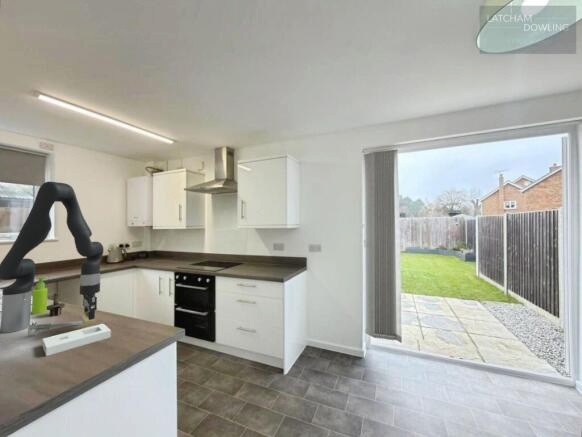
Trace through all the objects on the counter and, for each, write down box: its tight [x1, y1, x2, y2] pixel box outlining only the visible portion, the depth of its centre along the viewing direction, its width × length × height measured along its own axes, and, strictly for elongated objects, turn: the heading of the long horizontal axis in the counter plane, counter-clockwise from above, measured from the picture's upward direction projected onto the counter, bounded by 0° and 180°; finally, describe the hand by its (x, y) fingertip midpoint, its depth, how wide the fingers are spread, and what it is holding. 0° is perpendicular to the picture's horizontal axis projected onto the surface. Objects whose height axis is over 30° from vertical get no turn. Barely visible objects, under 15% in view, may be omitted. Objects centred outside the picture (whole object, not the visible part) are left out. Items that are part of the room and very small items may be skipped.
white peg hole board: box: [41, 323, 112, 357], centre depth 101 cm, size 12×20×3 cm, turn 141°
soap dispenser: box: [31, 276, 50, 315], centre depth 136 cm, size 6×7×20 cm
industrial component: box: [47, 292, 66, 317], centre depth 133 cm, size 9×7×12 cm
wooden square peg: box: [81, 311, 97, 329], centre depth 114 cm, size 4×4×8 cm
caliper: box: [27, 320, 83, 338], centre depth 113 cm, size 20×1×6 cm, turn 143°
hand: (89, 317), depth 114 cm, fingers open, 8 cm apart
